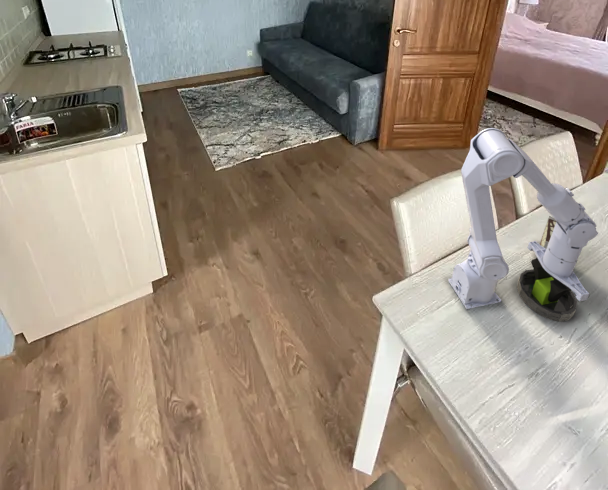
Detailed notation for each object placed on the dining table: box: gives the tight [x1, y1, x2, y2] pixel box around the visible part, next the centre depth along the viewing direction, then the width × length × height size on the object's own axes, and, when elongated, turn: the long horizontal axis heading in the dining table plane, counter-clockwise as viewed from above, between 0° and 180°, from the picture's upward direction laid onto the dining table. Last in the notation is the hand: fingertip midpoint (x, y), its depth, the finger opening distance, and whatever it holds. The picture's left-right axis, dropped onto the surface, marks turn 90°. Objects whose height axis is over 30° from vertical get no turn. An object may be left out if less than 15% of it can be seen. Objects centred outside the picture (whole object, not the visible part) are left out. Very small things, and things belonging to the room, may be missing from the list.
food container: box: [539, 215, 558, 249], centre depth 93 cm, size 12×6×10 cm, turn 143°
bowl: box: [516, 268, 578, 323], centre depth 84 cm, size 12×12×3 cm
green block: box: [531, 277, 558, 305], centre depth 83 cm, size 4×3×4 cm
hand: (546, 293), depth 84 cm, fingers closed on green block, 3 cm apart
